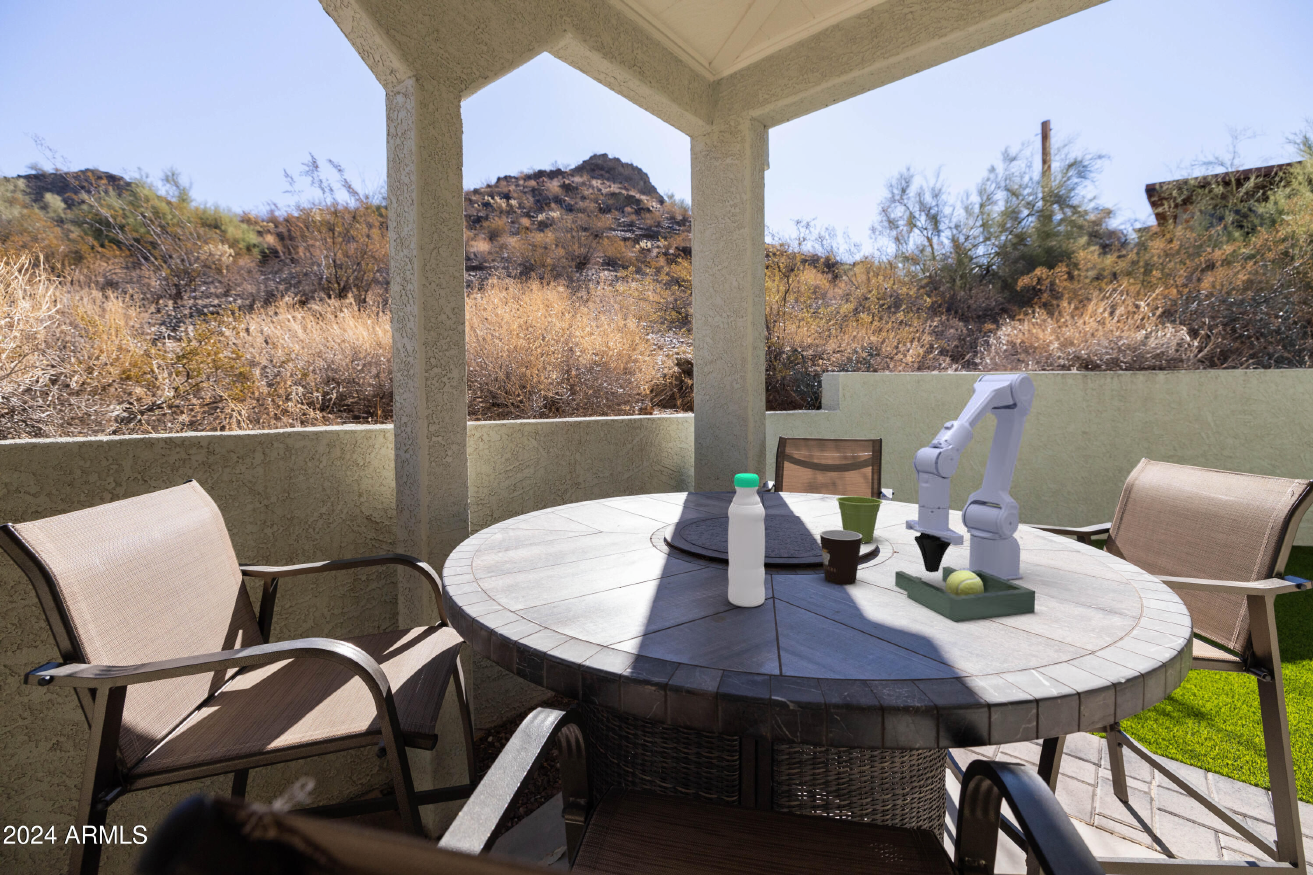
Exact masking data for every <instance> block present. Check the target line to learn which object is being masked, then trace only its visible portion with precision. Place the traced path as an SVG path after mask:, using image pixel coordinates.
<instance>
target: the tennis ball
mask: <svg viewBox="0 0 1313 875" xmlns="http://www.w3.org/2000/svg"><path fill="white" fill-rule="evenodd" d="M958 570H959V571H956V572H954V573H952V574H951V575H950V576H949V577H948V579H947V581H946V582H945V587H944V590H945V591H947V592H949V593H951V594H953V595H956V596H963V595H972V594H981V593H984V586H983V583H982V581H981V579H980V578H979V577H978V576H976V574H974V573H972V572H970V571H967V570H960V569H958Z"/></svg>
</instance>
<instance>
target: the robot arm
mask: <svg viewBox="0 0 1313 875" xmlns="http://www.w3.org/2000/svg"><path fill="white" fill-rule="evenodd" d="M1035 392H1036V387H1035V384H1034V382H1033V380H1032V378H1031V376H1030V375H1029V374H1027V373H1025V372H1022V373H1013V374H1012V373H1009V374H1006V373H1005V374H985V373H984V374H981V375H980V376H979V377H978V379H977V381H976V382H975V383H974V384H973V385H972V397H971V398H970V399H969V401H968V403H967V404H966V406H964V408H963V410H962V412H961V413H960V415H959V416H958V418H957V420H950V421H947V422H945V424H944V425H943V427H942V429H941V430H940V431H939V432H938V433H937V435H936V436H935V437H934V438H933V440H932V441H931V442H930V444H929V445H928V446H925V447H921V448H920V449H919V450H918V451H917V452H916V453H915V455H914V457H913V458H914V459H913V460H912V463H911V464H912V468H913V469H914V472H915V474H916V475H915V476H916V481H917V483H918V504H917V505H918V507H917V508H918V511H917V514H918V515H917V520H915V519H906V520H905V530H908V531H913V532H916V533H919V535H915V536H914V541H915V543H916V544H917V547H918V548H919V549H918V550H919V552H920V554H921V556H922V560H923V566H924V569H925V571H926V572H929V573H938V572H939V570H940V567H941V564H942V560H943V558H944V556H945V554H946V553H947V552H946V551H947V550H948V549H949V547H950V546H964V537H965V536H964V534H961V533H960V532H957V531H956V530H953V529H951V528H950V527H949V526H950V523H949V522H950V497H951V496H950V495H951V494H950V493H951V492H950V489H951V476H953V475H954V474H956V471H957V469H958V466H959V461H960V459H961V454H962V453H963V452H964V450H965V449H966V447H968V445H969V444H970V443H971V441H972V440H973V438H974V432H973V429H974V428H976V426H977V425H978V424H979V423H980V421H982V420H983V419H984V418H985V417H986V415H987V414H988V413H989V414H991V415H992V416H994V417H995V419H996V424H995V428H994V432H993V437H992V442H991V446H990V449H989V454H988V457H987V458H988V459H987V462H986V467H985V471H984V474H983V479H982V484H981V488H978V490H976V491H974V492H973V493H971V494H969V496H968V500H967V502H966V504H965V506H964V507H963V509H962V511H961V522H962V524H963V527H964V528H966V533H968V534H969V560H968V561H969V564H968V567H965V568H964V567H962V568H960V569H959V570H967V571H970V572H972V571H975V570H981V571H984V572H987V573H989V574H992V575H995V576H997V577H1000V578H1002V579H1005V580H1015V579H1023V574H1020V567H1021V566H1020V565H1021V546H1020V543H1019V541H1018V539H1017V538H1016V537H1015V536H1013V535H1015V533H1016V532H1017V531H1018V529H1019V525H1020V524H1019V523H1020V520H1019V519H1020V518H1019V510H1020V505H1019V504H1018V502H1017V501H1016V500H1015V499H1014V498H1013V497H1012V496H1011V495H1010V491H1011V490H1010V489H1011V485H1012V481H1013V478H1014V472H1015V468H1016V464H1017V460H1018V456H1019V451H1020V448H1021V447H1020V446H1021V443H1022V438H1023V434H1024V431H1025V430H1024V429H1025V425H1026V421H1027V418H1028V417H1027V416H1028V415H1030V414H1031V411H1032V410H1031V409H1032V406H1033V401H1034V398H1035Z"/></svg>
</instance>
